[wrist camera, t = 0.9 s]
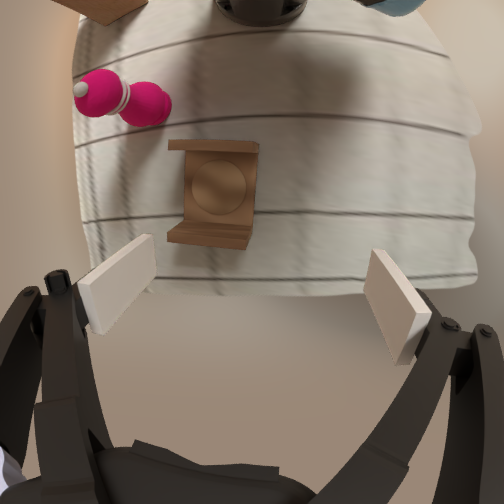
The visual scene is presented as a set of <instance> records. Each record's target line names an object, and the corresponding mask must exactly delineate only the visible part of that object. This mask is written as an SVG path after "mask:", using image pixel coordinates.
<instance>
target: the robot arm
mask: <svg viewBox="0 0 504 504" xmlns="http://www.w3.org/2000/svg"><path fill="white" fill-rule="evenodd" d="M215 1H216V3H217V5H218V7H219V9H220V11H221V12H222V13H223V14H224V15H225V16H226V17H227V18H229V19H230V20H232V21H234V22H237V23H239V24H243V25H247V26H255V27H266V26H274V25H278V24H282V23H285V22H287V21H289V20H291V19H293V18H295V17H296V16H297V15H299V14H300V13H301V12H302V11H303V9H304V8H305V6H306V3H307V0H215ZM353 1H356V2H358V3H360V4H361V5H362V6H364V7H368V8H373V9H375V10H377V11H380V12H382V13H384V14H386V15H389V16H393V17H396V16H405V15H407V14H409V13H411V12H413V11H414V10H416V9H417V8H418V7H419V6H420V5H422V4H423V2H424V1H426V0H353ZM156 275H157V267H156V259H155V250H154V240H153V234H141V235H140V236H138V237H137V238H136V239H134V240H133V241H131V242H130V243H129V244H127V245H126V246H124V247H123V248H122V249H120V250H119V251H118V252H116V253H115V254H113V255H112V256H111V257H109V258H108V259H107V260H105V261H104V262H103V263H101V264H100V265H99V266H98V267H96V268H94V269H92V270H91V271H90V272H89V273H88V274H86V275H85V276H84V277H82V278H81V279H80V280H78V281H77V282H76V283H75V284H73V285H71V281H70V278H69V274H68V271H67V270H64V269H63V270H62V269H60V270H55V271H52V272H50V273H48V274H47V275H46V276H45V278H44V280H45V284H46V287H47V290H48V293H49V295H41V293H40V290H39V288H38V287H37V286H31V287H30V286H29V287H26V288H24V290H22V291H21V292H20V293H19V294H18V296H17V297H16V299H15V300H14V302H13V303H12V305H11V306H10V308H9V309H8V311H7V313H6V314H5V316H4V318H3V319H2V321H1V323H0V504H387V503H388V502H389V500H390V499H391V497H392V496H393V494H394V493H395V492H396V490H397V489H398V487H399V486H400V484H401V482H402V481H403V479H404V478H405V476H406V474H407V472H408V470H409V466H407V465H408V462H409V461H410V459H411V457H412V455H413V454H414V452H415V450H416V448H417V446H418V444H419V442H420V441H421V439H422V436H423V434H424V433H425V431H426V428H427V426H428V424H429V422H430V420H431V417H432V416H433V413H434V411H435V409H436V406H437V403H438V401H439V399H440V396H441V394H442V391H443V389H444V386H445V383H446V380H447V378H448V375H451V392H450V409H449V419H448V429H447V436H446V443H445V450H444V456H443V461H442V466H441V471H440V476H439V479H438V484H437V487H436V491H435V495H434V499H433V502H432V504H504V360H503V355H502V351H501V347H500V343H499V339H498V336H497V334H496V332H495V331H494V330H493V328H492V327H490V326H489V325H485V324H477V325H476V326H475V328H474V330H473V332H472V333H470V332H465V331H461V327H460V325H459V324H458V323H457V322H456V321H454V320H453V319H451V318H447V317H442V316H441V314H440V313H439V312H438V310H437V309H436V308H435V306H434V305H433V304H432V302H431V301H430V300H429V298H428V297H427V296H426V294H425V293H424V292H422V291H421V290H419V289H418V288H414V287H413V286H412V285H411V283H410V282H409V281H408V279H407V278H406V277H405V275H404V274H403V273H402V272H401V270H400V269H399V268H398V267H397V265H396V264H395V263H394V262H393V260H392V259H391V258H390V257H389V255H388V254H387V253H386V252H385V251H384V250H382V249H372V252H371V257H370V262H369V267H368V272H367V276H366V281H365V285H364V290H363V291H364V293H365V295H366V297H367V299H368V302H369V304H370V306H371V308H372V310H373V313H374V315H375V317H376V320H377V322H378V324H379V327H380V329H381V332H382V334H383V336H384V339H385V341H386V344H387V346H388V349H389V351H390V354H391V356H392V359H393V362H394V364H395V365H409V364H410V363H411V361H412V358H413V356H414V354H415V356H416V358H417V361H416V363H415V364H414V366H413V368H412V370H411V372H410V374H409V375H408V377H407V379H406V381H405V382H404V384H403V386H402V388H401V389H400V391H399V393H398V394H397V396H396V398H395V399H394V401H393V402H392V404H391V405H390V407H389V408H388V410H387V411H386V413H385V414H384V416H383V417H382V419H381V420H380V422H379V423H378V424H377V426H376V427H375V428H374V430H373V431H372V433H371V434H370V435H369V437H368V438H367V439H366V441H365V442H364V443H363V444H362V445H361V446H360V447H359V449H358V450H357V451H356V452H355V454H354V455H353V456H352V457H351V459H350V460H349V461H348V462H347V463H346V464H345V466H344V467H343V468H342V469H341V470H340V471H339V472H338V474H337V475H336V476H335V477H334V478H333V479H332V480H331V481H330V482H329V483H328V484H327V485H326V486H325V487H324V488H323V489H322V490H321V491H320V492H319V493H318V494H315V493H314V492H313V491H312V490H310V489H309V488H308V487H306V486H305V485H303V484H301V483H299V482H297V481H296V480H293V479H290V478H288V477H285V476H281V475H279V467H274V466H260V465H250V464H231V465H205V466H204V465H199V464H196V463H194V462H192V461H190V460H188V459H186V458H183V457H181V456H179V455H178V454H175V453H174V452H171V451H170V450H168V449H165V448H161V447H158V446H154V445H151V444H148V443H144V442H141V441H139V440H135V441H134V443H133V445H132V447H115V448H114V447H113V445H112V442H111V440H110V437H109V434H108V430H107V427H106V424H105V420H104V417H103V414H102V409H101V405H100V402H99V398H98V393H97V389H96V384H95V379H94V374H93V369H92V365H91V358H90V353H89V346H88V338H87V332H86V329H85V326H86V325H87V324H88V323H89V325H90V327H91V330H92V332H93V333H95V334H99V335H103V336H104V335H105V334H106V333H107V332H108V331H109V329H110V328H111V327H112V326H113V325H114V323H115V322H116V321H117V320H118V319H119V318H120V316H121V315H122V314H123V313H124V312H125V311H126V309H127V308H128V307H129V306H130V305H131V303H132V302H133V301H134V300H135V299H136V298H137V297H138V295H140V293H141V292H142V291H143V290H144V289H145V288H146V287H147V285H148V284H149V283H150V282H151V281H152V280H153V279H154V278H155V277H156ZM41 376H42V402H40V403H36V404H35V400H36V396H37V391H38V387H39V383H40V380H41ZM34 404H35V405H34ZM33 409H34V424H35V436H36V445H37V453H38V460H39V467H40V472H41V476H39V477H36V478H33V479H30V480H27V479H26V478H25V476H23V475H22V471H21V469H22V467H23V463H24V459H25V456H26V450H27V444H28V437H29V430H30V424H31V419H32V414H33Z"/></svg>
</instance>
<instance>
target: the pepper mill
mask: <svg viewBox="0 0 504 504" xmlns="http://www.w3.org/2000/svg"><path fill="white" fill-rule="evenodd" d="M73 94H74V100H75V105H76V107H77V109H78V110H79V112H80V113H82V114H83V115H85V116H88V117H101V116H104V115H115V114H117V113H118V114H120V116H121V117H122V119H123V120H124V121H125V122H127V123H128V124H130V125H133V126H137V127H144V126H147V125H157V124H160V123H161V122H163V121H164V120H165V119H166V118H167V117H168V115H169V113H170V111H171V106H172V103H171V99H170V97H169V95H168V94H167V93H166V92H164V91H162V89H161V88H160V87H159V86H158V85H156V84H154V83H151V82H137V83H135V84H132V85H129V84H128V83H127V82H126V81H125V80H123V79H120V78H119V77H118V75H117V74H116V73H114V72H113V71H110V70H106V69H98V70H94V71H92V72H90V73H88V74H87V75H86V76H84V77H83V78H82V80H81V81H80V82H79V83H77V84H76V85H75V86H74V88H73Z"/></svg>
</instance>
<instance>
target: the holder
mask: <svg viewBox="0 0 504 504" xmlns="http://www.w3.org/2000/svg"><path fill="white" fill-rule="evenodd" d="M168 150H186V158H185V185H184V220H183V221H182V222H181V223H179V224H178V225H176V226H175V227H174V228H172V229H171V230H170V231H168V232H167V242H173V243H182V244H192V245H201V246H211V247H220V248H229V249H239V250H246V247H247V245H248V242H249V240H250V237H251V234H252V227H253V214H254V201H255V188H256V176H257V163H258V150H259V144H257V143H255V142H251V141H233V140H169V142H168Z"/></svg>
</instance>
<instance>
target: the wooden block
mask: <svg viewBox="0 0 504 504" xmlns="http://www.w3.org/2000/svg"><path fill="white" fill-rule="evenodd" d="M52 1H54V2H57V3H59V4H61V5H64V6H66V7H68V8H70V9H73V10H75V11H77V12H79V13H81V14H83V15H85V16H87V17H89V18H91V19H93V20H94V21H96V22H98V23H100V24H102V25H104V26H107V25H109V24H110V23H112V22H114V21H115V20H117V19H119V18H120V17H122V16H124V15H125V14H127V13H129V12H131V11H133V10H135V9H136V8H138V7H140V6H142V5H144V4H146V3H148V0H52Z"/></svg>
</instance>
